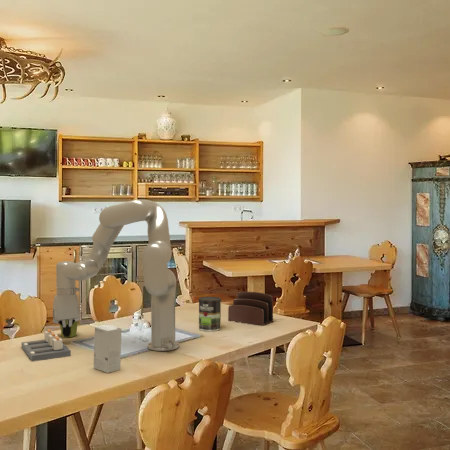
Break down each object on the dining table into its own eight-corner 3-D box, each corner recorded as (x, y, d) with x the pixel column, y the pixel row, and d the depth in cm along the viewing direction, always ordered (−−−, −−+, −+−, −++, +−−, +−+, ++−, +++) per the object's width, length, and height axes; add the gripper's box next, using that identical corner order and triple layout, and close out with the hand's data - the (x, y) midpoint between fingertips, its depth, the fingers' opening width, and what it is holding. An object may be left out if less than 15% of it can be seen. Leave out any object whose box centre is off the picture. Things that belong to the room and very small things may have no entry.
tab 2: (58, 344, 207) (58, 333, 207) (50, 345, 206) (50, 334, 206) (56, 342, 210) (55, 332, 210) (48, 343, 209) (48, 332, 209)
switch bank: (70, 355, 201) (70, 350, 201) (31, 361, 194) (31, 355, 194) (57, 342, 220) (57, 337, 220) (21, 347, 213) (21, 342, 213)
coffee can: (215, 332, 237) (215, 301, 236) (195, 330, 241) (194, 299, 240) (224, 327, 246) (224, 297, 246) (204, 325, 250) (204, 295, 250)
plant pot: (68, 339, 225) (67, 319, 224) (52, 336, 230) (52, 317, 229) (84, 335, 233) (84, 315, 232) (69, 332, 238) (69, 313, 237)
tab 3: (62, 349, 201) (62, 337, 201) (54, 350, 200) (54, 338, 200) (60, 346, 204) (60, 335, 204) (52, 347, 203) (52, 336, 203)
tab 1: (54, 340, 213) (53, 330, 213) (46, 341, 212) (46, 331, 212) (52, 338, 217) (51, 328, 216) (44, 339, 215) (44, 329, 215)
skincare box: (93, 368, 185) (92, 326, 184) (107, 364, 189) (106, 323, 189) (108, 373, 179) (107, 330, 179) (122, 369, 184) (121, 326, 183)
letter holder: (238, 317, 268) (238, 290, 267) (273, 322, 257) (273, 293, 257) (227, 321, 260) (227, 292, 259) (263, 326, 249) (263, 296, 248)
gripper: (81, 288, 224) (82, 332, 225) (45, 291, 216) (45, 336, 217) (86, 291, 218) (87, 335, 218) (49, 294, 210) (49, 340, 211)
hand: (66, 336), depth 218 cm, fingers closed
